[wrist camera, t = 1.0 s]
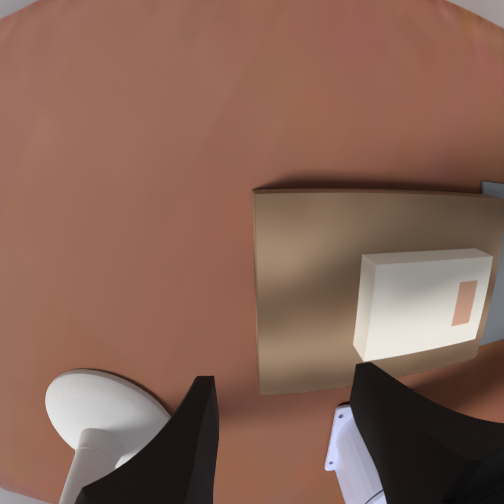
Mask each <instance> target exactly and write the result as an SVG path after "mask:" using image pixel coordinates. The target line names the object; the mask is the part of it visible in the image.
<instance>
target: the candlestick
mask: <svg viewBox="0 0 504 504" xmlns="http://www.w3.org/2000/svg"><path fill="white" fill-rule="evenodd" d="M45 403H46V409H47V412H48V415H49V418H50V420H51V422H52V424H53V425H54V427H55V429H56V430H57V431H58V433H59V434H60V435H61V437H62V438H63V439H64V440H65V441H66V442H67V443H68V444H69V445H70V446H71V447H72V448H74V449H75V450H76V451H75V456H74V459H73V462H72V465H71V468H70V471H69V474H68V477H67V480H66V483H65V486H64V489H63V492H62V495H61V499H60V502H59V504H74V503H75V501H76V498H77V496H78V494H79V493H80V491H81V489H82V487H84V486H86V485H88V484H90V483H92V482H94V481H96V480H98V479H100V478H102V477H104V476H106V475H107V474H109V473H111V472H112V471H114V470H115V469H117V468H118V467H120V466H121V465H122V464H124V463H125V462H127V461H128V460H129V459H131V458H132V457H133V456H134V455H136V454H137V453H138V452H139V451H140V450H141V449H142V448H144V447H145V446H146V445H147V444H148V443H149V442H150V441H151V440H152V439H153V438H154V437H155V436H156V435H157V434H158V432H159V431H160V430H161V429H162V428H163V427H164V425H165V424H166V423H167V422H168V420H169V419H170V418H171V417H170V415H169V414H168V412H167V411H166V410H165V409H164V407H163V406H162V405H161V404H160V403H159V402H158V401H157V400H156V399H154V398H153V397H152V396H151V395H149V394H148V393H147V392H145V391H144V390H142V389H141V388H139V387H138V386H136V385H134V384H132V383H131V382H129V381H127V380H124V379H122V378H120V377H117V376H115V375H112V374H109V373H105V372H101V371H96V370H88V369H77V370H71V371H67V372H64V373H62V374H60V375H59V376H57V377H56V378H55V379H54V380H53V382H52V383H51V384H50V386H49V388H48V390H47V393H46V400H45Z"/></svg>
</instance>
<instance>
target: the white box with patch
mask: <svg viewBox="0 0 504 504" xmlns="http://www.w3.org/2000/svg"><path fill="white" fill-rule="evenodd" d="M492 260H493V256H491V255H489V254H487V253H485V252H483V251H480V250H478V249H476V248H470V249H452V250H434V251H416V252H397V253H378V254H362V260H361V274H360V286H359V297H358V307H357V317H356V325H355V334H354V341H353V346H354V347H355V349H356V350H357V352H358V354H359V355H360V357H361V358H362V360H363V362H365V361H372V360H378V359H384V358H390V357H395V356H401V355H406V354H411V353H416V352H421V351H426V350H431V349H435V348H440V347H444V346H449V345H453V344H457V343H461V342H465V341H469V340H473V339H475V338H476V334H477V330H478V327H479V323H480V319H481V315H482V311H483V307H484V302H485V298H486V293H487V288H488V283H489V278H490V272H491V267H492Z"/></svg>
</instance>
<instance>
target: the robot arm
mask: <svg viewBox="0 0 504 504" xmlns="http://www.w3.org/2000/svg"><path fill="white" fill-rule="evenodd" d="M341 414H342V415H341ZM218 441H219V412H218V405H217V397H216V388H215V380H214V376H197V377H196V378H195V379H194V381H193V383H192V385H191V387H190V389H189V391H188V393H187V394H186V396H185V398H184V399H183V401H182V402H181V404H180V405H179V407H178V408H177V410H176V411H175V412H174V414H173V415H172V416H171V418H170V419H169V420H168V422H167V423H166V424H165V425H164V427H163V428H162V429H161V430H160V431H159V432H158V434H157V435H156V436H155V437H154V438H153V439H152V440H151V441H150V442H149V443H148V444H147V445H146V446H145V447H144V448H142V449H141V450H140V451H139V452H138V453H137V454H136V455H134V456H133V457H132V458H131V459H129V460H128V461H127V462H125V463H124V464H122V465H121V466H120V467H118V468H117V469H115V470H114V471H112V472H111V473H109V474H107V475H106V476H104V477H102V478H100V479H98V480H96V481H94V482H92V483H90V484H88V485H86V486H84V487H82V489H81V491H80V493H79V494H78V496H77V498H76V501H75V503H74V504H213V485H214V476H215V467H216V459H217V450H218ZM325 470H327V471H330V470H335V472H336V475H337V478H338V481H339V484H340V487H341V490H342V494H343V497H344V500H345V503H346V504H504V423H496V422H491V421H486V420H481V419H477V418H474V417H470V416H467V415H464V414H461V413H458V412H455V411H453V410H450V409H448V408H445V407H443V406H441V405H439V404H436V403H434V402H432V401H430V400H429V399H427V398H425V397H423V396H422V395H420V394H418V393H416V392H415V391H413V390H411V389H410V388H408V387H407V386H405V385H404V384H402V383H401V382H399V381H398V380H396V379H395V378H393V377H392V376H391V375H389V374H388V373H386V372H385V371H383V370H382V369H381V368H379V367H378V366H376V365H375V364H373V363H372V362H366V363H359V364H356V367H355V373H354V379H353V385H352V391H351V396H350V401H349V404H348V405H342V406H339V407H337V408H336V410H335V416H334V422H333V427H332V432H331V438H330V443H329V448H328V453H327V457H326V462H325Z"/></svg>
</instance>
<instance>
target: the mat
mask: <svg viewBox="0 0 504 504" xmlns="http://www.w3.org/2000/svg"><path fill="white" fill-rule="evenodd" d="M481 194H484V195H489V196H493V197H498V198H502V199H504V184H501V183H492V182H483V181H482V186H481ZM501 339H504V228H503V237H502V245H501V252H500V258H499V264H498V270H497V276H496V281H495V286H494V291H493V295H492V300H491V304H490V308H489V313H488V317H487V320H486V324H485V328H484V332H483V335H482V339H481V342H480V345H479V346H481V345H485V344H488V343H491V342H495V341H498V340H501Z"/></svg>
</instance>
